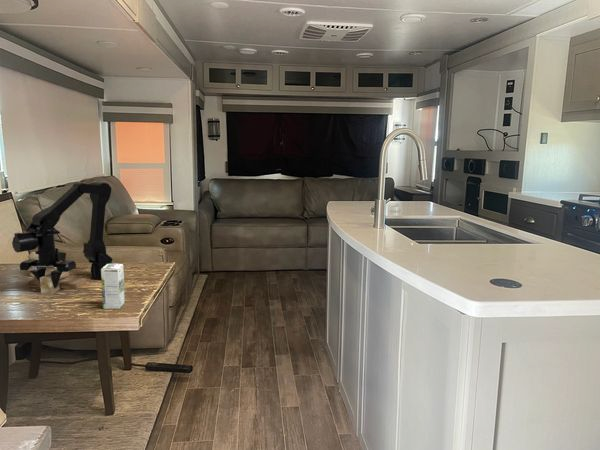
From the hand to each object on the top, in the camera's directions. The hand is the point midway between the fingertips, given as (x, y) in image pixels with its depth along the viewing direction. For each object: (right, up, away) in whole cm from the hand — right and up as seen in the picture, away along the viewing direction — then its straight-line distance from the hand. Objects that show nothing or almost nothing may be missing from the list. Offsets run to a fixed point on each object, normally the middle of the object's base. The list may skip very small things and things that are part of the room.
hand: (50, 287), depth 168 cm
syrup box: (+30, -5, -13) cm, 33 cm away
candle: (-16, +2, +20) cm, 26 cm away
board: (-1, 0, +8) cm, 8 cm away
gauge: (0, -1, +4) cm, 4 cm away
